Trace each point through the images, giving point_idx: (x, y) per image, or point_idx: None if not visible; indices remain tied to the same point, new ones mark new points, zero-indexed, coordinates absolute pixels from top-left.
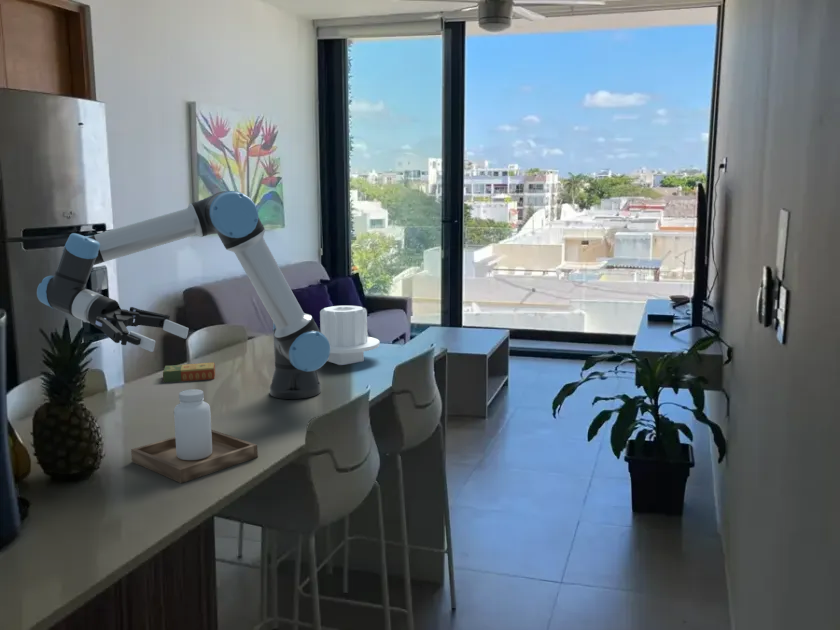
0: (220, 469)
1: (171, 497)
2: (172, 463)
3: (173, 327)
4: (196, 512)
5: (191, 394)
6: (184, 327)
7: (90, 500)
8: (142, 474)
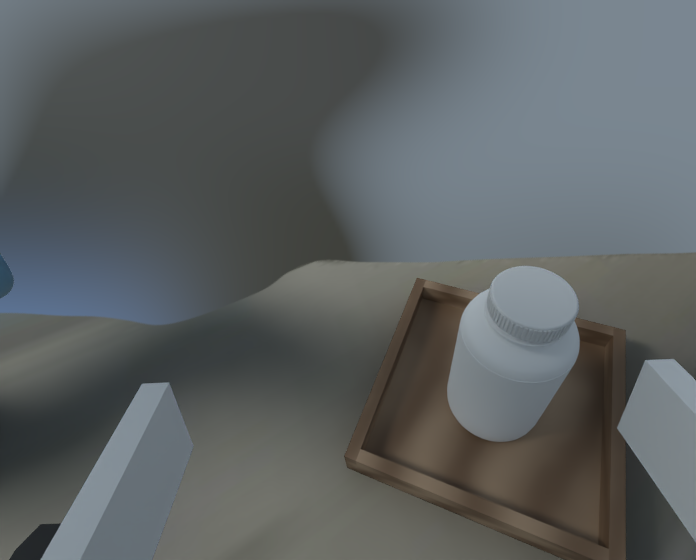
0: None
1: (672, 323)
2: (565, 416)
3: (117, 548)
4: (675, 256)
5: (552, 281)
6: (150, 408)
7: None
8: (644, 468)
